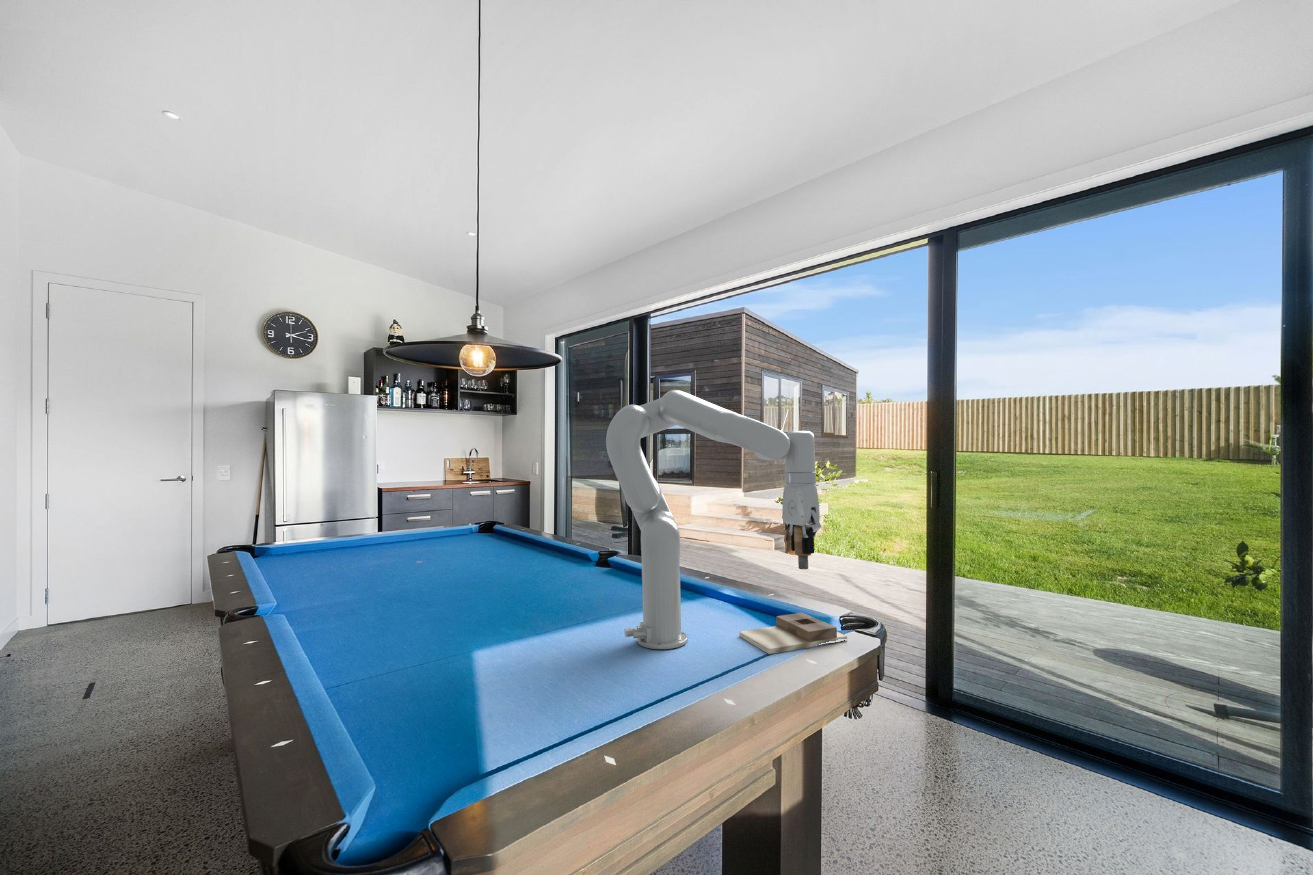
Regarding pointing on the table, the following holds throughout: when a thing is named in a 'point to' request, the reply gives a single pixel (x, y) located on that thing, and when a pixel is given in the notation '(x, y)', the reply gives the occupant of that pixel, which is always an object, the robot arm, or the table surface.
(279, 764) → the table surface
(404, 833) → the table surface
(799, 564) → the tan rounded cylinder
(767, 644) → the subfloor panel
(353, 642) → the table surface
